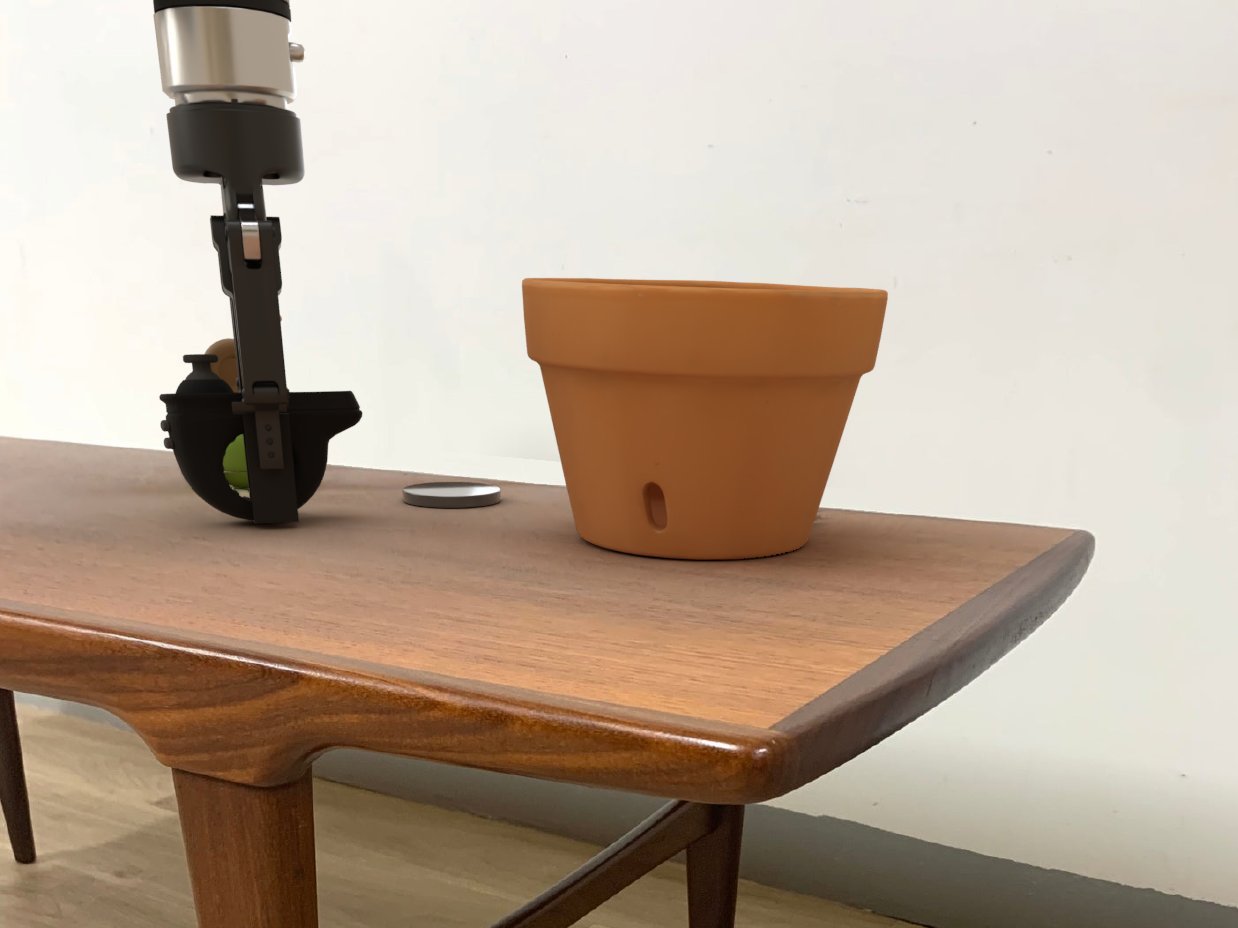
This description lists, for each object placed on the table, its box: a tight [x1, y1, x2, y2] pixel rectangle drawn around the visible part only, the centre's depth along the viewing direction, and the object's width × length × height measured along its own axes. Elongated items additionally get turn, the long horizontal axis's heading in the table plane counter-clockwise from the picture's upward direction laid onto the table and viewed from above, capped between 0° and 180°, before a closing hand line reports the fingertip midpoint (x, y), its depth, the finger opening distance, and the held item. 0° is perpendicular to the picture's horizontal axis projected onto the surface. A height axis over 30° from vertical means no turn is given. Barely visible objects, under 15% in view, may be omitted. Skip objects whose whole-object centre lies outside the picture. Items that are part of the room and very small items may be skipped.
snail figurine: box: [204, 314, 283, 490], centre depth 95 cm, size 5×6×12 cm
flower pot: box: [521, 277, 889, 560], centre depth 79 cm, size 21×21×15 cm
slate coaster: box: [401, 481, 502, 509], centre depth 94 cm, size 7×7×1 cm
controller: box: [159, 353, 363, 522], centre depth 83 cm, size 4×12×10 cm, turn 116°
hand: (274, 514), depth 85 cm, fingers closed on controller, 5 cm apart
